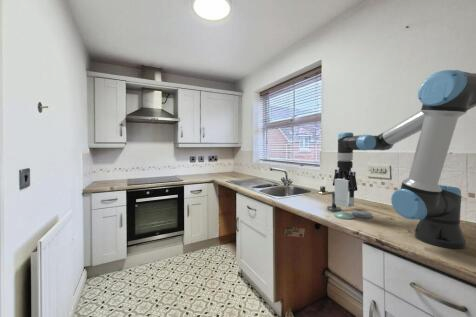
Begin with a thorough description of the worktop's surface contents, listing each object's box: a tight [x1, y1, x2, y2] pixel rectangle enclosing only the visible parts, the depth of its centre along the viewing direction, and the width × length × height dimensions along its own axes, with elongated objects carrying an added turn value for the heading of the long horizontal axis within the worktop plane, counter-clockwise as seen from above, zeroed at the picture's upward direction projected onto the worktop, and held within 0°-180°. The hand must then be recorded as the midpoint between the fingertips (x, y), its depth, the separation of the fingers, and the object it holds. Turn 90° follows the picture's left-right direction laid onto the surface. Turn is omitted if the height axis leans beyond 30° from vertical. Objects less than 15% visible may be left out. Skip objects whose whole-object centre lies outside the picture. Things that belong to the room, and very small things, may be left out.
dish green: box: [333, 211, 355, 221], centre depth 118 cm, size 10×10×1 cm
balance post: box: [326, 194, 342, 212], centre depth 132 cm, size 8×8×10 cm
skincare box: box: [334, 178, 355, 208], centre depth 117 cm, size 8×6×15 cm
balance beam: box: [316, 186, 335, 196], centre depth 132 cm, size 6×22×5 cm, turn 101°
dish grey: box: [351, 210, 373, 219], centre depth 120 cm, size 10×10×1 cm
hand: (343, 200), depth 117 cm, fingers closed on skincare box, 9 cm apart
